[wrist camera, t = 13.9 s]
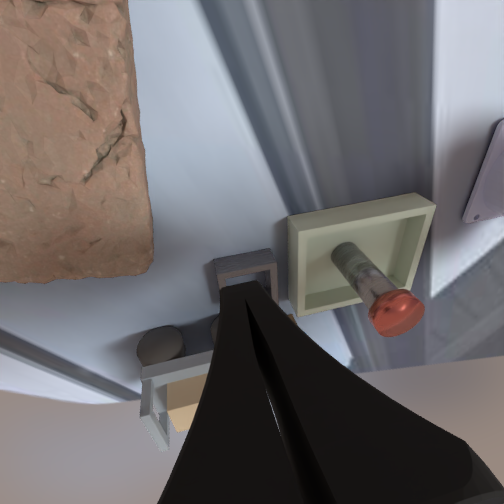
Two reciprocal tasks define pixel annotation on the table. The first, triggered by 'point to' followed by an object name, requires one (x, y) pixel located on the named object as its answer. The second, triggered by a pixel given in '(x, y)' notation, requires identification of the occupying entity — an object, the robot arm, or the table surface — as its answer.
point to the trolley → (170, 381)
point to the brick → (70, 143)
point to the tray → (364, 237)
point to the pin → (377, 292)
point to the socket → (249, 269)
